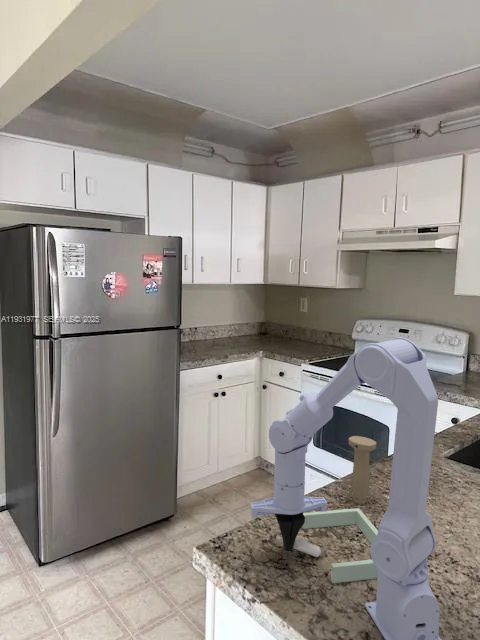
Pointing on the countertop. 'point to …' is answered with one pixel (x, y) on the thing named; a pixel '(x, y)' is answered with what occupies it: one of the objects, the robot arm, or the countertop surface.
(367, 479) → the handle
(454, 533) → the countertop surface
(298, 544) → the small white plastic part
